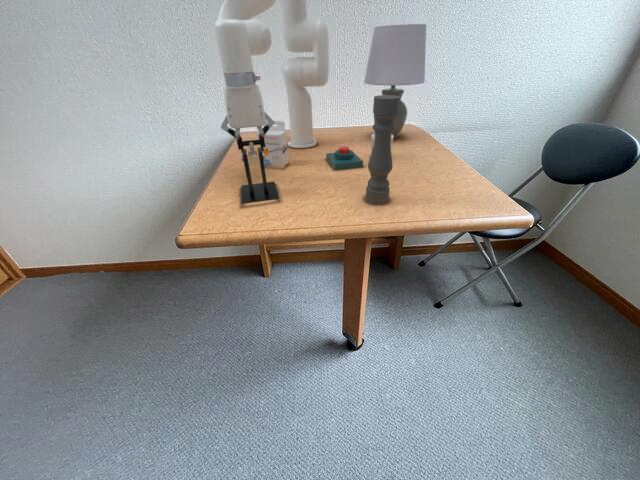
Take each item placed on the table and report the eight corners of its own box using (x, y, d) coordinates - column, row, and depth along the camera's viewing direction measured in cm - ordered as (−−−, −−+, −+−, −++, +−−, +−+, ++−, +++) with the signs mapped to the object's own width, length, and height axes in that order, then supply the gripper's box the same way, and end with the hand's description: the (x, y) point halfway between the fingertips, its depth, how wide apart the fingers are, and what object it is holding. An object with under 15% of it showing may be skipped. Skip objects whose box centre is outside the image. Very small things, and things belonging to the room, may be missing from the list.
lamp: (375, 128, 139) (383, 28, 116) (422, 134, 127) (442, 24, 104) (351, 140, 123) (355, 27, 100) (402, 148, 111) (420, 22, 88)
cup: (391, 164, 96) (394, 141, 92) (368, 163, 98) (369, 140, 93) (391, 154, 105) (393, 132, 100) (369, 153, 106) (371, 132, 102)
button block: (326, 159, 103) (326, 148, 101) (351, 156, 105) (352, 145, 102) (335, 170, 93) (335, 158, 91) (362, 167, 95) (363, 155, 93)
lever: (243, 146, 81) (241, 138, 80) (260, 145, 82) (259, 137, 80) (244, 165, 72) (242, 156, 71) (263, 163, 73) (262, 154, 72)
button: (337, 152, 98) (337, 147, 97) (347, 151, 99) (347, 146, 98) (340, 155, 95) (340, 150, 94) (350, 154, 96) (350, 149, 95)
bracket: (241, 189, 83) (232, 146, 76) (274, 185, 85) (269, 142, 78) (242, 207, 74) (231, 160, 66) (279, 202, 75) (273, 155, 68)
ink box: (261, 167, 98) (255, 123, 90) (268, 162, 102) (262, 120, 93) (283, 169, 96) (278, 124, 87) (289, 164, 100) (285, 120, 91)
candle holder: (363, 195, 77) (369, 95, 63) (384, 193, 78) (396, 94, 63) (368, 205, 72) (376, 99, 58) (391, 203, 73) (405, 98, 58)
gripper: (271, 77, 76) (279, 144, 86) (207, 81, 73) (223, 150, 83) (274, 79, 70) (282, 151, 80) (204, 84, 67) (222, 158, 77)
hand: (252, 150), depth 82 cm, fingers closed on lever, 5 cm apart
